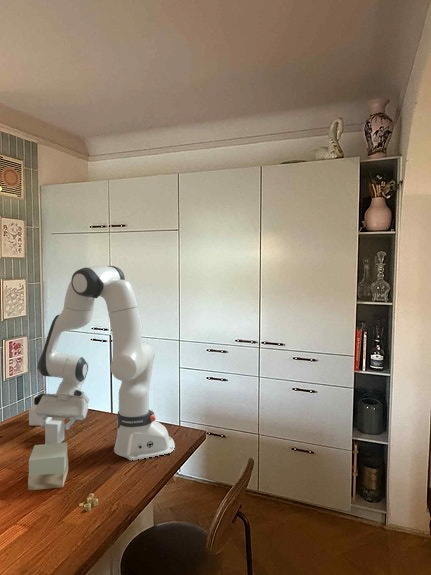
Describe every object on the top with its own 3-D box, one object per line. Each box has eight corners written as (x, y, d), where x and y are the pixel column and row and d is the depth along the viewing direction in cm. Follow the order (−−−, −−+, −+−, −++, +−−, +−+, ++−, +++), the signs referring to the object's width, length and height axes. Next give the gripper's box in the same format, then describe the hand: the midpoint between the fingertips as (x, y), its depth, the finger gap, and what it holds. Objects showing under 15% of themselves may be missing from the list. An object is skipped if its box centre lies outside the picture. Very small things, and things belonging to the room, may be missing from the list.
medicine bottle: (52, 419, 174) (52, 392, 173) (45, 425, 167) (45, 397, 166) (35, 419, 174) (35, 392, 173) (28, 425, 167) (28, 397, 166)
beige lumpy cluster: (91, 498, 117) (91, 492, 117) (102, 505, 114) (102, 499, 114) (76, 507, 113) (76, 500, 113) (87, 514, 110) (87, 507, 110)
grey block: (52, 438, 155) (52, 418, 155) (64, 439, 155) (64, 419, 154) (45, 444, 150) (45, 423, 150) (57, 445, 150) (57, 424, 149)
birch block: (68, 471, 132) (68, 456, 131) (63, 487, 122) (62, 472, 122) (36, 473, 130) (36, 459, 129) (28, 491, 120) (28, 475, 120)
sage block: (67, 456, 131) (67, 442, 131) (64, 472, 122) (64, 456, 121) (34, 460, 129) (34, 445, 128) (28, 476, 119) (28, 460, 119)
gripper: (40, 389, 160) (25, 422, 151) (88, 393, 157) (76, 427, 148) (46, 396, 165) (32, 429, 156) (93, 400, 162) (81, 433, 153)
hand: (54, 428), depth 152 cm, fingers open, 8 cm apart
